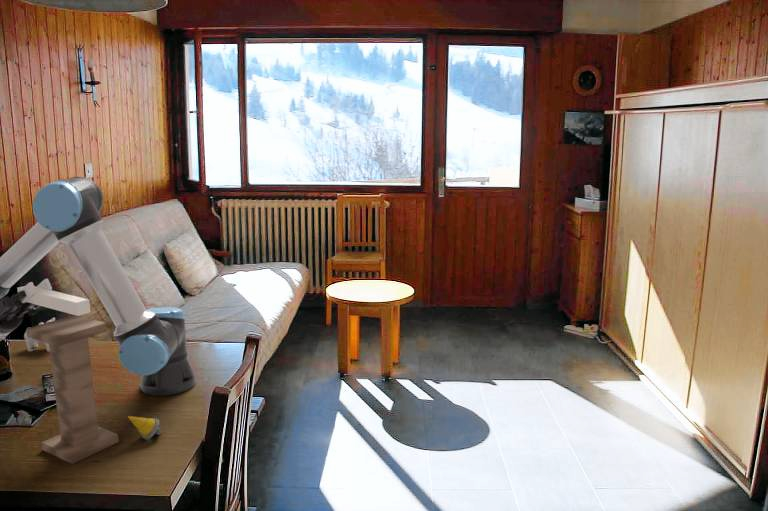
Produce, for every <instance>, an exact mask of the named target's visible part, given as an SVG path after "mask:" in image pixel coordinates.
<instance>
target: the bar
mask: <svg viewBox="0 0 768 511" xmlns="http://www.w3.org/2000/svg"><path fill="white" fill-rule="evenodd" d="M25 286H26V285H24V286H19V287H16V288H17V293H18V292H19V291H20V290H22V289H23V288H24V287H25ZM36 286H37V285H34V287H35V289H36V291H37V293H36V294H35V295H33V296H32V297H31V298H30V299H29V300H28V301H26V302H28V303H32V304H36V305H39V306H41V307H42V308H43V307H44V308H47V309H52V310H55V311H58V312H62V313H66V314H68V315H72V316H73V315H76V316H82V315H86V314H90V313H91V305H90V299H89V298H85V297H81V296H76V295H72V294H68V293H64V292H59V291H56V290H53V289H52V290H48V289H44V288H40V287H36Z"/></svg>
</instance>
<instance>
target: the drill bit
mask: <svg viewBox="0 0 768 511" xmlns="http://www.w3.org/2000/svg"><path fill="white" fill-rule="evenodd" d="M127 418H128V419H129V421H131V423H132V424H133V426H134V427H135V428H136V429H137V431H138V432H139V433H140V436H141V438H142V439H144V440H146V441H147V440H150V439H151V438H152V437H154V435H155V436H156V435H157V436H159V435H162V434H161V432H162V429H161V428H160V427H159V426H160V420H159V418H156V417H151V418H147V417H141V416H139V417H138V416H131V415H129V416H127Z"/></svg>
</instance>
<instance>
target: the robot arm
mask: <svg viewBox="0 0 768 511" xmlns="http://www.w3.org/2000/svg"><path fill="white" fill-rule="evenodd" d="M104 201H105V200H104V194H103V191H102V189H101V188H100V186H99V185H98V184H97V183H96V182H95V181H94V180H92V179H89V178H87V177H85V176H73V177H69V178H66V179H60V180H55V181H52V182H50V183H48V184H45V185H43V186H42V187H41V188H40V189H38V191H37V192H36V193H35V195H34V198H33V201H32V211H33V216H34V218H35V220H36V221H37V222H36V223H35V224H34V225H32V227H31V228H30V229H29V230H28V231H26V232H25V233H24V235H22V236H21V237H20V238H19V239H18V240H17V241H16V242H15V243H13V245H12V246H11V247H10V248H9V249H8V250H7V251H6V252H5V253H3V254H2V255H1V256H0V342H1V341H2V340H6V337H7V336H8V335H9V334H10V333H11V332H13V331H15V329H17V328H18V327H19V326H20V325H21V324H22V323H23V319H24V316H25V314H27V313H29V311H30V310H31V309H33V310H40V309H41V307H42V306H39V305H36V304H32V303H28V302H26V301H28V300H29V299H30V298H31V297H32V296H33V295H35V294H36V293H37V291H36V289H35V287H34V286H36V287H40V288H44V289H48V290H52V291H53V286H52V284H51V282H50V280H49V278H44V279H43V280H42V281H41V282H40V283H39V284H37V285H34V283H33V281H30V282H28V283H27V284H25V285H24V286H25V287H24V288H23V289H22V290H20V291H19V292H18V291H17V293H14V294H12V295H11V296H10V297H9V296H6V295H7V294H8V293H9V291H10V289H11V287H12V286H14V285H15V284H16V283H17V282H18V281H19V280H20V279H21V278H22V277H23V276H25V275H26V274H27V273H28V272H29V271H30V270H31V269H32V268H33V267H34V266H35V265H37V263H39V262H40V261H41V260H42V259H43V258H44V257H45V256H47V255H48V253H49V252H50V251H51V250H53V249H54V248H56V246H57V245H58V244H59V243H62V244H66V245H67V246H68V247H69V248H70V250H71V252H72V254H73V255H74V257H75V259H76V261H77V262H78V265H79V266H80V268H81V269H82V272H83V273H84V275H85V276H86V278H87V280H88V281H89V283H90V284H91V286H92V288H93V289H94V291H95V293H96V295H97V297H98V298H99V300H100V302H101V303H102V305H103V307H104V309H105V311H106V312H107V314H108V316H109V317H110V319H111V321H112V322H113V324H114V326H115V329H114V332H113V337H114V338H115V340H116V342H117V343H118V345H119V349H118V359H119V362H120V364H121V365H122V367H123V368H124V369H125V370H127V371H128V372H129V373H131V374H134V375H138V376H141V379H140V390H141V392H142V393H144V394H145V395H147V396H148V395H149V396H154V397H155V396H156V397H158V396H159V397H163V396H166V397H167V396H172V395H177V394H180V393H185V392H186V391H189V390H190V389H192V388H194V386H195V385H196V382H197V380H196V373H195V371H194V368H193V367H192V364H191V361H190V360H189V356H188V346H187V334H186V331H187V330H186V318H185V313H184V310H183V309H182V308H180V307H177V306H176V307H175V306H171V307H170V306H169V307H168V306H167V307H166V306H164V307H163V306H162V307H161V306H160V307H153V308H146V306H145V305H144V303H143V300H142V299H141V297H140V295H139V294H138V293H137V290H136V289H135V287H134V285H133V283H132V282H131V280H130V277H128V275H127V273H126V271H125V269H124V267H123V265H122V264H121V262H120V260H119V259H118V257H117V254H116V253H115V252H114V250H113V248H112V246H111V245H110V242H109V241H108V239H107V238H106V236H105V233H104V232H103V230H102V225H103V222H104V219H103V218H102V216H101V214H100V212H101V210H103V209H102V208H103V207H104Z"/></svg>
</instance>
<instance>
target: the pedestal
mask: <svg viewBox="0 0 768 511" xmlns="http://www.w3.org/2000/svg"><path fill="white" fill-rule="evenodd" d="M107 328H108V327H107V323H106V322H103V321H100V320H96V319H92V318H88V317H85V316H82V315H79V316H76V315H73V314H72V315H70V316H67V317H63V318H59V319H55V321H52V322H48V323H46V322H45V323H44V324H41V325H39V324H38V325H35V326H31V327H27V328H26V330H27V337H29V338H32V339H35V340H38V341H37V342H39V341H41V342H40V343H43V342H44V343H48V344H49V350H50V351H49V356H50V364H51V366H50V367H51V371H52V381H53V387H54V388H53V389H54V396H55V403H56V411H57V419H58V426H59V427H58V428H59V434H57V435H55V436H53V437H50V438H49V439H46V440H43V441H42V442H41V447H42V451H44V452H46V453H49V454H51V455H52V456H54V457H56V458H59V459H61V460H63V461H65V462H67V463H70V464H72V465H74V464H75V463H77V462H79V461H82V460H84V459H86V458H88V457H90V456H93V455H94V454H96V453H98V452H100V451H103V450H105V449H106V448H109V447H111V446H114V445H116V444H117V443H119V442H120V440H119V434H118V433H115V432H113V431H111V430H108V429H107V428H103V427H102V426H99V424H98V422H99V421H98V412H97V407H96V406H97V405H96V397H95V395H96V394H95V389H94V388H95V386H94V380H93V372H92V369H93V368H92V363H91V355H90V354H91V353H90V344H89V343H90V342H89V338H90V337H93V336H96V335H99V334H103V333H105V332H108V329H107ZM26 330H25V331H26ZM44 343H43V344H44Z"/></svg>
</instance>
